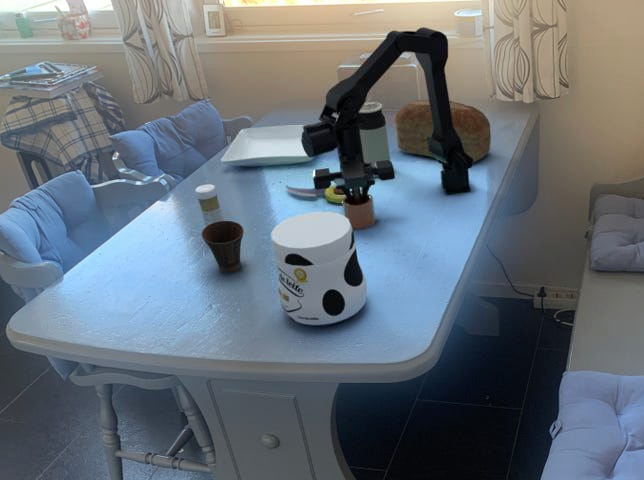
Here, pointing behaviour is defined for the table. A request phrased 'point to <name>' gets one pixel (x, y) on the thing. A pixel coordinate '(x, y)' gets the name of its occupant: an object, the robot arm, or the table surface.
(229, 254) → the cup
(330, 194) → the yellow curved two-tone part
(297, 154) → the square plate
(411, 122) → the bread
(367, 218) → the terracotta cup
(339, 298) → the milk container
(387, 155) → the travel mug
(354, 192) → the walnut stick
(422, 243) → the table surface
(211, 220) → the sprinkles bottle
